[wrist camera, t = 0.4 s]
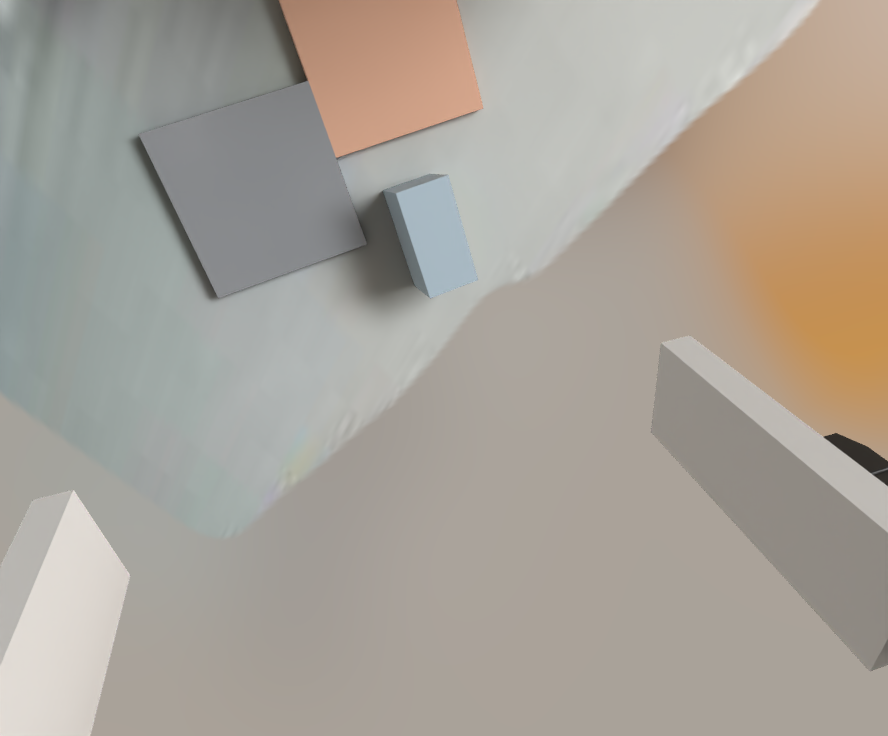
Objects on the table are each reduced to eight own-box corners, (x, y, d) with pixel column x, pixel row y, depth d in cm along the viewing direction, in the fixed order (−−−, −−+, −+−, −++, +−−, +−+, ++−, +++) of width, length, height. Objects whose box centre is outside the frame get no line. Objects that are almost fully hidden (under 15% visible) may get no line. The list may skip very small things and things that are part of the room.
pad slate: (140, 134, 29) (138, 133, 29) (307, 82, 31) (308, 80, 30) (219, 296, 33) (218, 298, 32) (365, 242, 34) (367, 244, 34)
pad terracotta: (269, -25, 29) (269, -29, 28) (434, -72, 30) (437, -76, 29) (335, 158, 32) (336, 157, 32) (479, 109, 33) (483, 108, 33)
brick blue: (382, 190, 34) (395, 193, 30) (429, 174, 34) (448, 174, 30) (414, 285, 36) (430, 298, 32) (457, 268, 36) (478, 279, 33)
